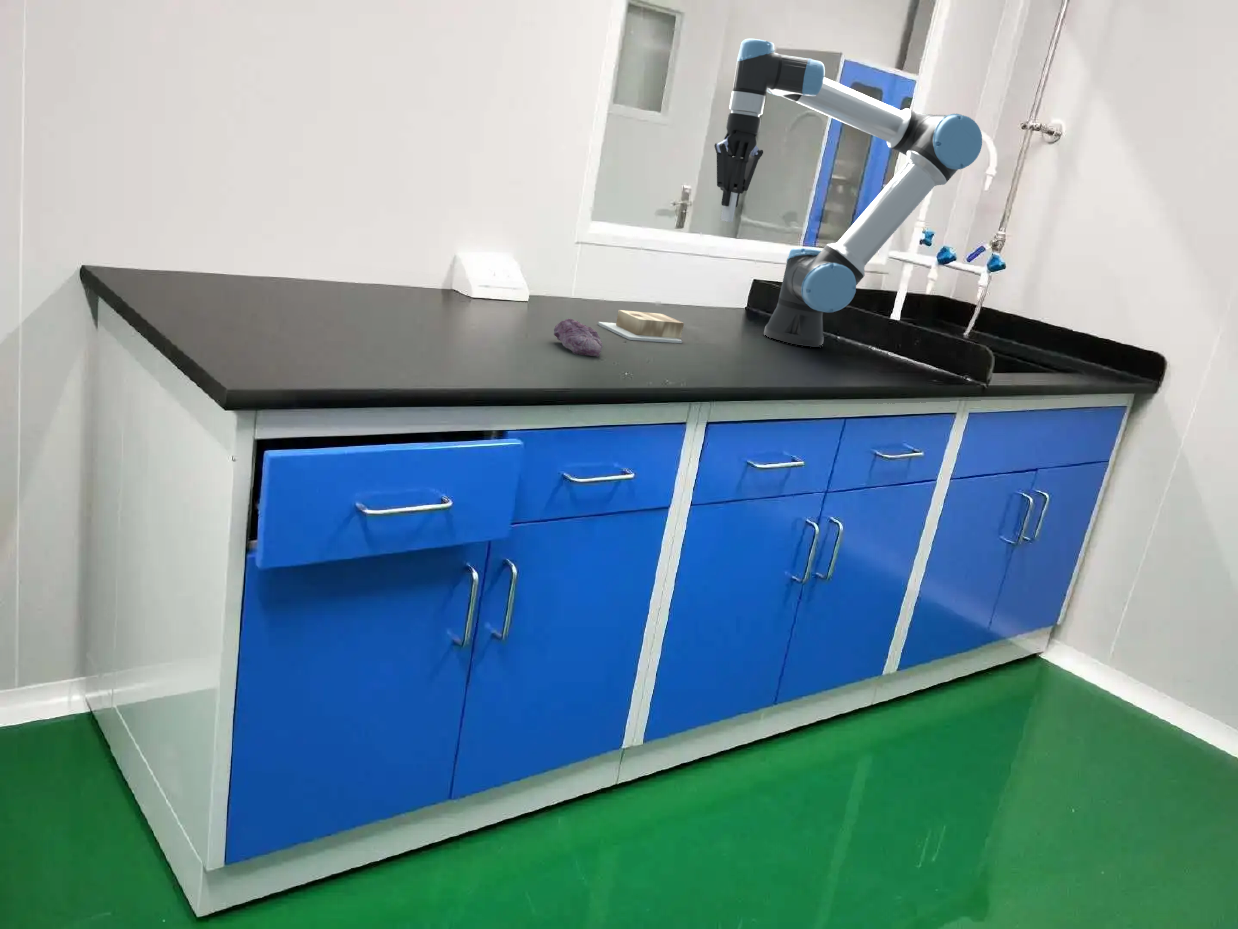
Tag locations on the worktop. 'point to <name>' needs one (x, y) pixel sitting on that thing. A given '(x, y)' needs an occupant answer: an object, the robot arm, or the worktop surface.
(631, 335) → the mat
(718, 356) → the worktop surface
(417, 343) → the worktop surface
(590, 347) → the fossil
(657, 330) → the slab
